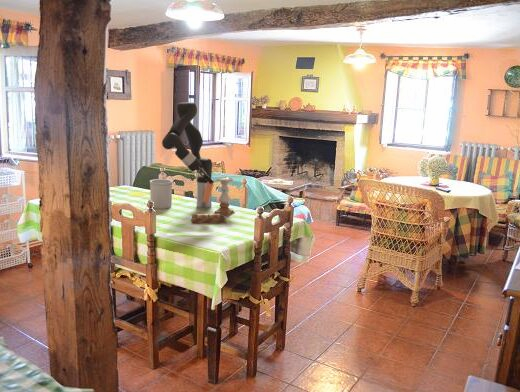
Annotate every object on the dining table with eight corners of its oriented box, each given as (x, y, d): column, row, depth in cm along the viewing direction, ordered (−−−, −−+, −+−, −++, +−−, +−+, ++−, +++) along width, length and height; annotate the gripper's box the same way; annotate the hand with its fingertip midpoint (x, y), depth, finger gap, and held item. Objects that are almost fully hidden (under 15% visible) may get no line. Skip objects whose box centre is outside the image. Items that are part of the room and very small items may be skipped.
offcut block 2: (209, 222, 274) (209, 215, 273) (209, 221, 277) (209, 213, 276) (219, 222, 275) (219, 214, 274) (219, 221, 278) (219, 213, 277)
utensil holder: (175, 208, 313) (175, 182, 309) (152, 209, 306) (152, 183, 302) (169, 203, 325) (169, 178, 322) (147, 204, 319) (147, 179, 315)
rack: (191, 226, 270) (191, 218, 269) (190, 221, 280) (190, 214, 280) (226, 225, 274) (226, 218, 273) (223, 220, 284) (224, 213, 283)
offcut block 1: (197, 222, 273) (197, 215, 272) (197, 221, 275) (197, 213, 274) (207, 222, 274) (207, 215, 273) (207, 221, 277) (207, 213, 276)
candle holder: (235, 214, 300) (236, 178, 295) (228, 218, 290) (229, 180, 285) (219, 212, 304) (220, 176, 299) (212, 216, 294) (213, 179, 289)
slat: (202, 201, 276) (208, 179, 273) (202, 201, 277) (208, 178, 275) (208, 203, 276) (214, 180, 274) (208, 202, 278) (214, 179, 276)
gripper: (196, 158, 264) (217, 180, 269) (195, 155, 277) (215, 176, 282) (186, 168, 264) (208, 189, 269) (186, 164, 277) (206, 184, 282)
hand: (211, 182), depth 275 cm, fingers closed on slat, 1 cm apart
